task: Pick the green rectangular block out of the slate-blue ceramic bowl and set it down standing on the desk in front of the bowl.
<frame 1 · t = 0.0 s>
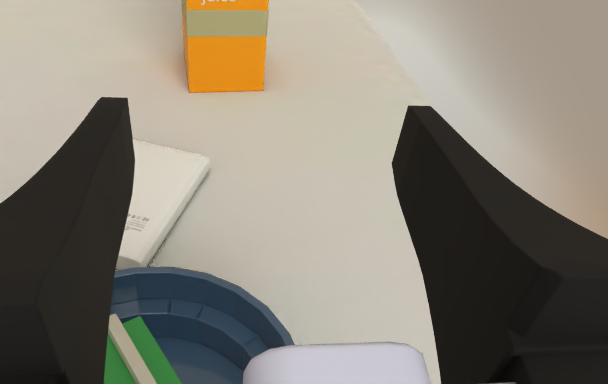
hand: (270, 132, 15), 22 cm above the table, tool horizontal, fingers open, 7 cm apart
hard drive: (130, 207, 45), on the table
orange juice: (221, 72, 62), on the table
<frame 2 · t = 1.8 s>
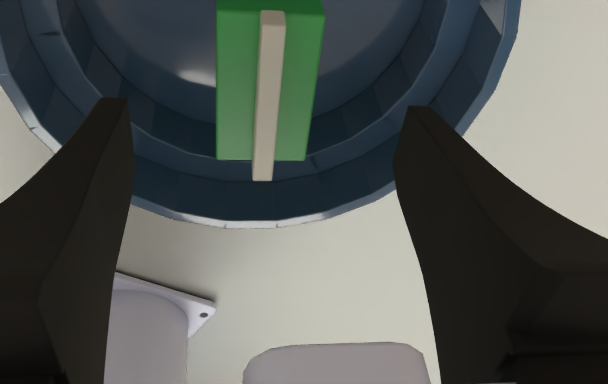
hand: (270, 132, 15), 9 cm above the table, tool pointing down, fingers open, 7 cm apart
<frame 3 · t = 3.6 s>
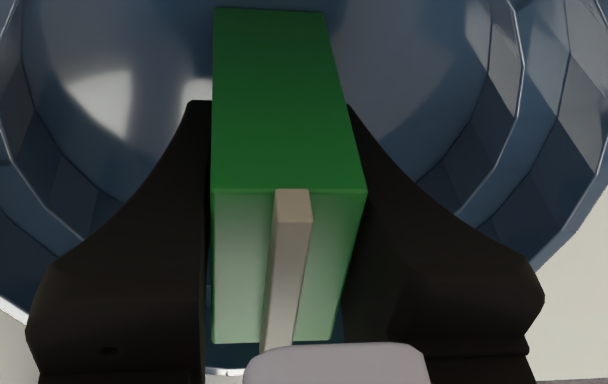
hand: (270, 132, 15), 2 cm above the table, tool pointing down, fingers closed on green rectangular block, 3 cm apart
bowl: (265, 80, 17), on the table
green rectangular block: (264, 90, 16), point 1 cm above the table, touching gripper
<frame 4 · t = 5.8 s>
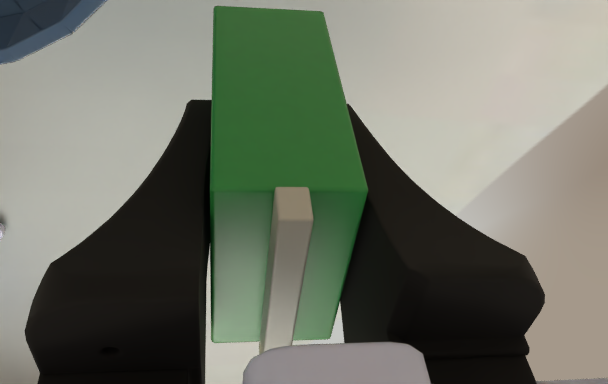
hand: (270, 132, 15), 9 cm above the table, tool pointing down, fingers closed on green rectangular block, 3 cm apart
green rectangular block: (263, 89, 16), point 7 cm above the table, touching gripper
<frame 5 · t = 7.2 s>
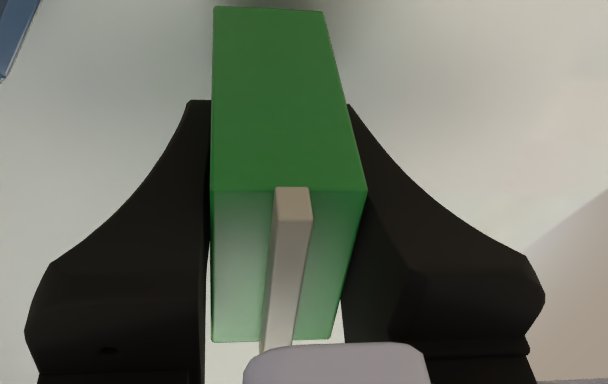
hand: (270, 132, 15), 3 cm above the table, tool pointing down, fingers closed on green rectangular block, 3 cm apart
green rectangular block: (263, 89, 16), point 2 cm above the table, touching gripper
when the fingers open (2 cm above the table, at t = 8.0 s): green rectangular block stays where it is, on the table.
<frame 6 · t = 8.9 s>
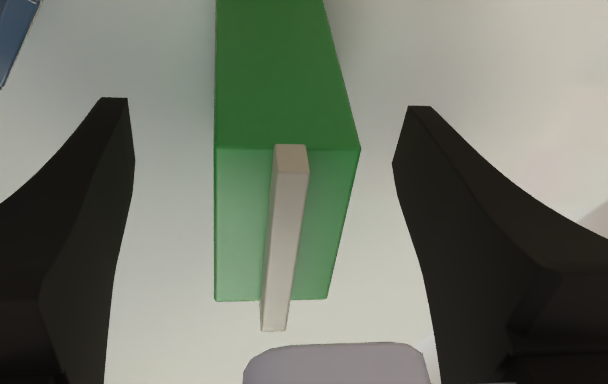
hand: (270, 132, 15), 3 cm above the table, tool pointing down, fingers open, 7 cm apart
green rectangular block: (263, 66, 17), on the table
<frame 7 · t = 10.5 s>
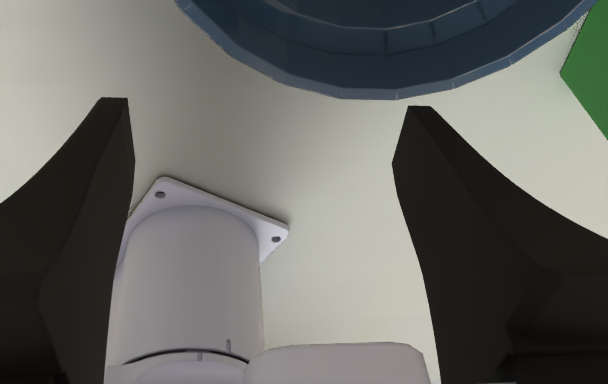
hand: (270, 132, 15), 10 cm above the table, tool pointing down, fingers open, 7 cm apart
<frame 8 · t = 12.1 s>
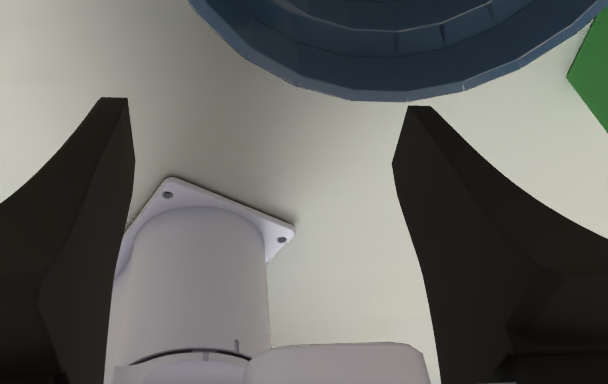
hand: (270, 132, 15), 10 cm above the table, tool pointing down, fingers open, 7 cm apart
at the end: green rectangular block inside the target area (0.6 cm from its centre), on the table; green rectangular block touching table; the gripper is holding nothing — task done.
